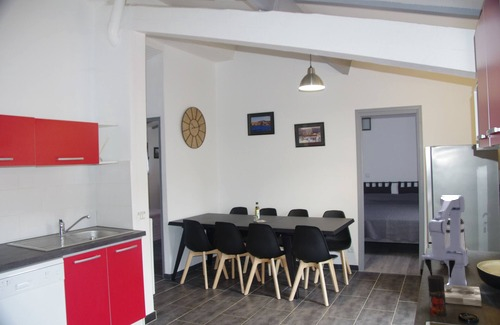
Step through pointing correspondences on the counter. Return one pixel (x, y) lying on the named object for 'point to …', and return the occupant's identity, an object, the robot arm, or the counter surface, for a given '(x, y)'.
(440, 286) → the spice jar
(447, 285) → the ball
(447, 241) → the coffee press
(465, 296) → the block
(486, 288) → the counter surface
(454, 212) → the robot arm
